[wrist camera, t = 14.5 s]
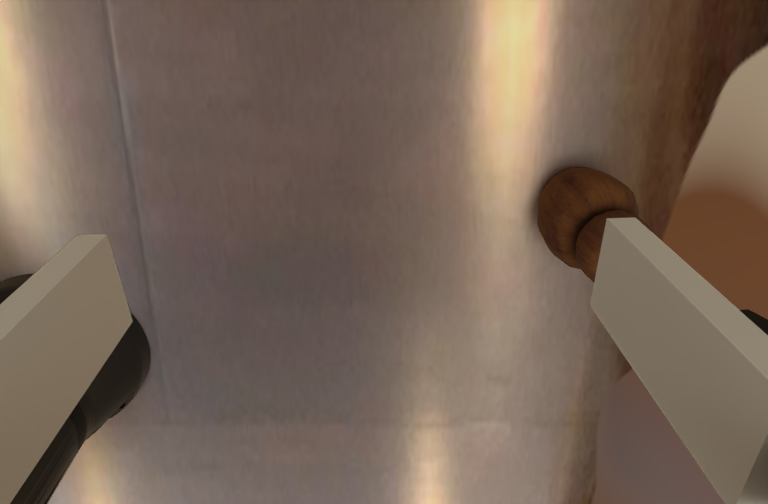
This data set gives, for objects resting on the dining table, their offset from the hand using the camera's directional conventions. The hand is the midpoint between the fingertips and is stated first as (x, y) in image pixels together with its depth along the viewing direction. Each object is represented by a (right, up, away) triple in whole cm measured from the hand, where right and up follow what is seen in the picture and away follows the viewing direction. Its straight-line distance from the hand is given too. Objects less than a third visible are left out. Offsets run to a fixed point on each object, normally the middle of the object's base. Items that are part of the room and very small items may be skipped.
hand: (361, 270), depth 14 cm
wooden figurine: (+15, +5, +28) cm, 33 cm away
